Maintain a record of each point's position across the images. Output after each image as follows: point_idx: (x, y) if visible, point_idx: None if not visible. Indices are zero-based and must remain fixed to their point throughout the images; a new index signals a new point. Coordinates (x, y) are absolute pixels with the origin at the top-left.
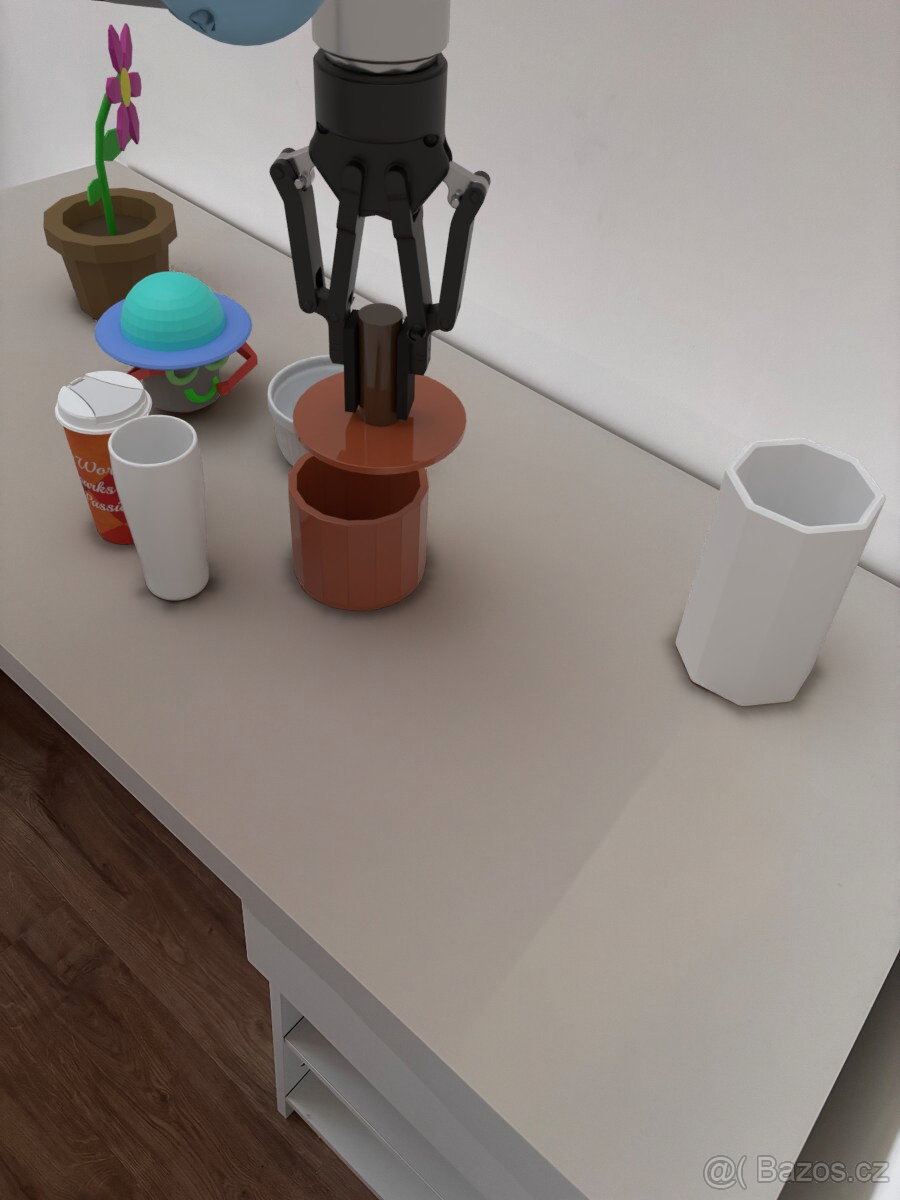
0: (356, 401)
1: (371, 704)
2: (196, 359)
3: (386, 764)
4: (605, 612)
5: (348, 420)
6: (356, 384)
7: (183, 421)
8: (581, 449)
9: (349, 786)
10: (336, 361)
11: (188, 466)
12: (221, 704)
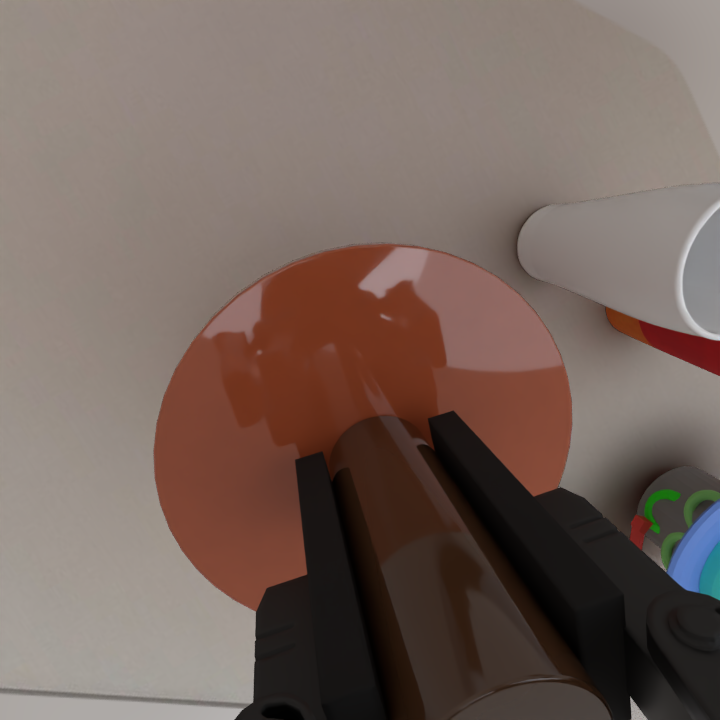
0: (439, 443)
1: (244, 166)
2: (709, 524)
3: (173, 77)
4: (62, 448)
5: (436, 405)
6: (459, 473)
7: (716, 335)
8: (230, 661)
9: (196, 19)
10: (552, 497)
11: (659, 254)
12: (410, 80)
